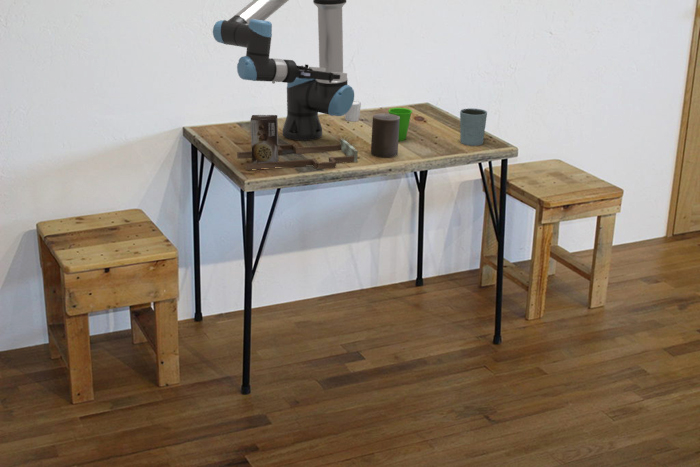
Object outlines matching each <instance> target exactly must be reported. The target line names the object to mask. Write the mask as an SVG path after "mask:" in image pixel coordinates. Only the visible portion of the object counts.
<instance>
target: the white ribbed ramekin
mask: <svg viewBox="0 0 700 467" xmlns="http://www.w3.org/2000/svg"><path fill="white" fill-rule="evenodd" d="M361 105H362V103H361V102H360V101H357V100H354V101H353V104H352V106H351V108H350V110H349V111H348V112H347V113H346V114H345V115H344V120H345V121H346V122H347V121H348V122H358V121H360V115H361V107H362V106H361Z"/></svg>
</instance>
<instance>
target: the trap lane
mask: <svg viewBox="0 0 700 467" xmlns="http://www.w3.org/2000/svg"><path fill="white" fill-rule="evenodd" d="M339 140H340V142H339V144H328V145H327V144H325V145H313V146H312V145H311V146H300V147H299V146H297V145H296V144H294V143H290V144H286V143H285V144H278V156H283V155H286V154H295V155H299V154H313V153H323V152H324V153H325V152H326V153H327V152H339V151H341V152H342V153H343V154H344V155H345V156H343V155H342V156H330V157H328V161H324V162H323V161H322V162H321V161H320V162H319V161H318V160H317V159H316V158H306V159H293V160H282V161H281V160H278V162H267V163H255V164H252V163H246V171H247V170H252V169H261V168H275V167H288V168H294V167H293V166H300V167H307V166H306V165H313V166H314V167H315V168H314V167H313V166H312V167H313V168H314V169H317V168H318V169H317V170H325V169H324V168H329V169H336V167H337V164H344V163H345V162H348V163H358V158H359V157H358V152H359V151H358V149H356V148H355V147H354V146H353V145H352V144H350V143H349V142H348V141H347V140H345V138H340V139H339ZM236 154H237V159H249V158H251V159H252V150H249V151H248V150H247V151H246V150H245V151H237V152H236ZM343 162H344V163H343ZM345 164H346V163H345ZM335 166H336V167H335ZM252 171H253V170H252Z"/></svg>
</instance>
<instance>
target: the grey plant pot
mask: <svg viewBox="0 0 700 467" xmlns="http://www.w3.org/2000/svg"><path fill="white" fill-rule="evenodd" d="M459 115H460V116H459V122H460V123H459V124H460V125H459V126H460V130H459V132H460V134H459V135H460V141H459V142H460V143H461V144H462V145H465V146H470V147H477V146H482V145H483V143H484V140H485V138H484V137H485V130H486V125H487V124H486V123H487V119H488V118H487V117H488V116H487V115H488V111H487V110H485V109H480V108H472V107H471V108H462V109H461V110H460V112H459Z"/></svg>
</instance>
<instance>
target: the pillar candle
mask: <svg viewBox="0 0 700 467" xmlns="http://www.w3.org/2000/svg"><path fill="white" fill-rule="evenodd" d="M399 121H400V117H399V116H397V115H393V114H389V113H387V112H385V113H384V112H383V113H376V114H373V115H372V124H371V127H372V128H371V144H370V154H371V155H372V156H375V157H379V158H393V157H397V156H398V154H399V153H398V152H399V141H398V139H399Z"/></svg>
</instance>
